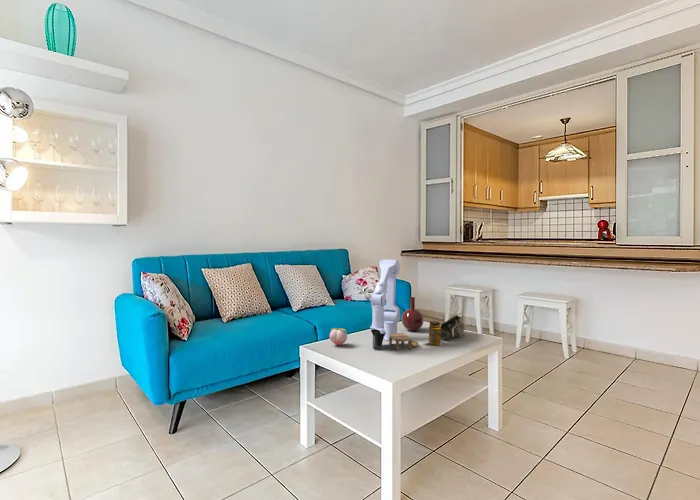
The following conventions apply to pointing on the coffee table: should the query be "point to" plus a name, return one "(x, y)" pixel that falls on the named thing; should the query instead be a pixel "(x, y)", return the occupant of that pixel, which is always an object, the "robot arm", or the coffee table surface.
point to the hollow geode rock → (452, 328)
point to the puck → (414, 344)
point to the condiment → (434, 335)
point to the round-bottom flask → (412, 317)
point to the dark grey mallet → (384, 345)
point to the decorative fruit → (338, 336)
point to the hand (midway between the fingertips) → (378, 344)
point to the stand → (400, 339)
